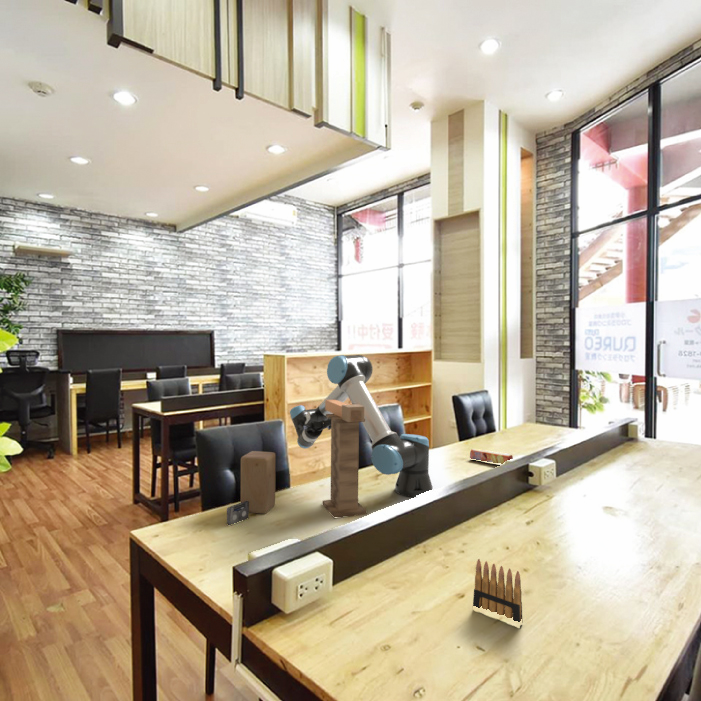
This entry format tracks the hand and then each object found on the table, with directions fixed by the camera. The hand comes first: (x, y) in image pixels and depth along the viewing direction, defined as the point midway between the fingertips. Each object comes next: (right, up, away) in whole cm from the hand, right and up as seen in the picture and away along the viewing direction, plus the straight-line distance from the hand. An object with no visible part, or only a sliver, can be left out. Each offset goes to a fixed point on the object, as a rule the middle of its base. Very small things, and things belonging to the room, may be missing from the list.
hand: (325, 414), depth 188 cm
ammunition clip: (+43, -34, -86) cm, 102 cm away
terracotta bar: (+7, +2, -19) cm, 20 cm away
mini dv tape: (-28, -32, -33) cm, 54 cm away
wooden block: (-23, -32, -21) cm, 45 cm away
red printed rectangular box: (+81, -32, +44) cm, 98 cm away
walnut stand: (+8, -32, -21) cm, 39 cm away
